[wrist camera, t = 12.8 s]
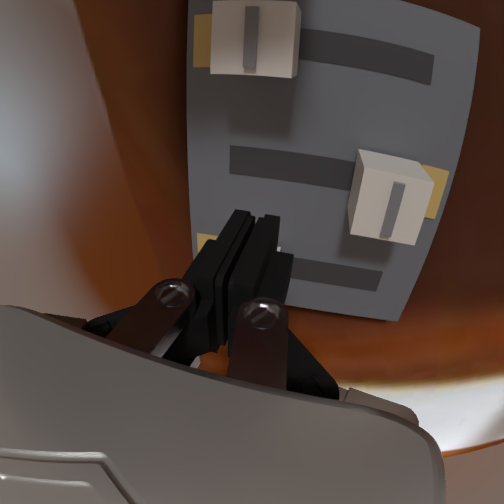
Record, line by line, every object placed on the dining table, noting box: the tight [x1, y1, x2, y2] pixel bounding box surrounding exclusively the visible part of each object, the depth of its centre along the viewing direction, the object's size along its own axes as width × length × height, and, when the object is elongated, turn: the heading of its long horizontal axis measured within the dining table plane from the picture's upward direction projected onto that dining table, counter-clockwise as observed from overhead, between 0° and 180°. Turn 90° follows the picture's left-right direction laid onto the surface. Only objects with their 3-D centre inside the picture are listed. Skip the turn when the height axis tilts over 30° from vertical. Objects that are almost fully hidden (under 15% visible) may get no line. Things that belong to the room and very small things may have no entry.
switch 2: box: [347, 149, 434, 246], centre depth 17 cm, size 4×4×4 cm
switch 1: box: [210, 0, 302, 78], centre depth 14 cm, size 4×4×4 cm
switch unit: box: [187, 0, 480, 321], centre depth 21 cm, size 18×24×3 cm
